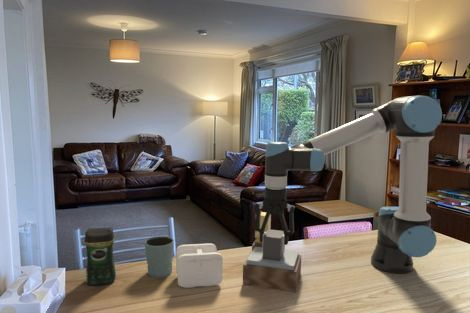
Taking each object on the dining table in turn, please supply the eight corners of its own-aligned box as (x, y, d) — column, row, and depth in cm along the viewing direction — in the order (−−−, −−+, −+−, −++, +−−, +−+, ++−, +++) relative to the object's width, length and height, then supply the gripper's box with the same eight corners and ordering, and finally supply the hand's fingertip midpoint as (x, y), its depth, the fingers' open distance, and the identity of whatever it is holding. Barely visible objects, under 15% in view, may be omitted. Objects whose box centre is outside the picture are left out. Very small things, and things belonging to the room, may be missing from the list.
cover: (298, 255, 136) (299, 230, 135) (293, 270, 124) (294, 242, 123) (255, 250, 141) (255, 225, 139) (246, 264, 128) (247, 237, 127)
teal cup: (179, 270, 139) (179, 238, 137) (162, 281, 130) (162, 247, 128) (156, 264, 143) (156, 234, 142) (139, 275, 134) (138, 242, 133)
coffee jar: (116, 274, 134) (115, 224, 132) (114, 284, 127) (113, 231, 124) (87, 276, 132) (85, 225, 130) (84, 287, 124) (82, 233, 122)
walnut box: (302, 264, 146) (303, 243, 144) (295, 292, 124) (296, 267, 123) (256, 258, 151) (256, 238, 150) (241, 284, 129) (241, 260, 128)
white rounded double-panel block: (218, 273, 137) (218, 242, 135) (222, 287, 127) (223, 253, 125) (176, 276, 134) (176, 244, 132) (177, 290, 124) (177, 256, 122)
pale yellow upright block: (270, 237, 150) (270, 212, 149) (266, 244, 142) (266, 218, 141) (257, 236, 151) (258, 211, 150) (253, 243, 144) (253, 217, 142)
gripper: (304, 187, 130) (302, 251, 133) (251, 183, 135) (249, 245, 138) (302, 191, 123) (299, 259, 126) (246, 187, 128) (244, 252, 131)
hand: (273, 251), depth 132 cm, fingers closed on cover, 6 cm apart
